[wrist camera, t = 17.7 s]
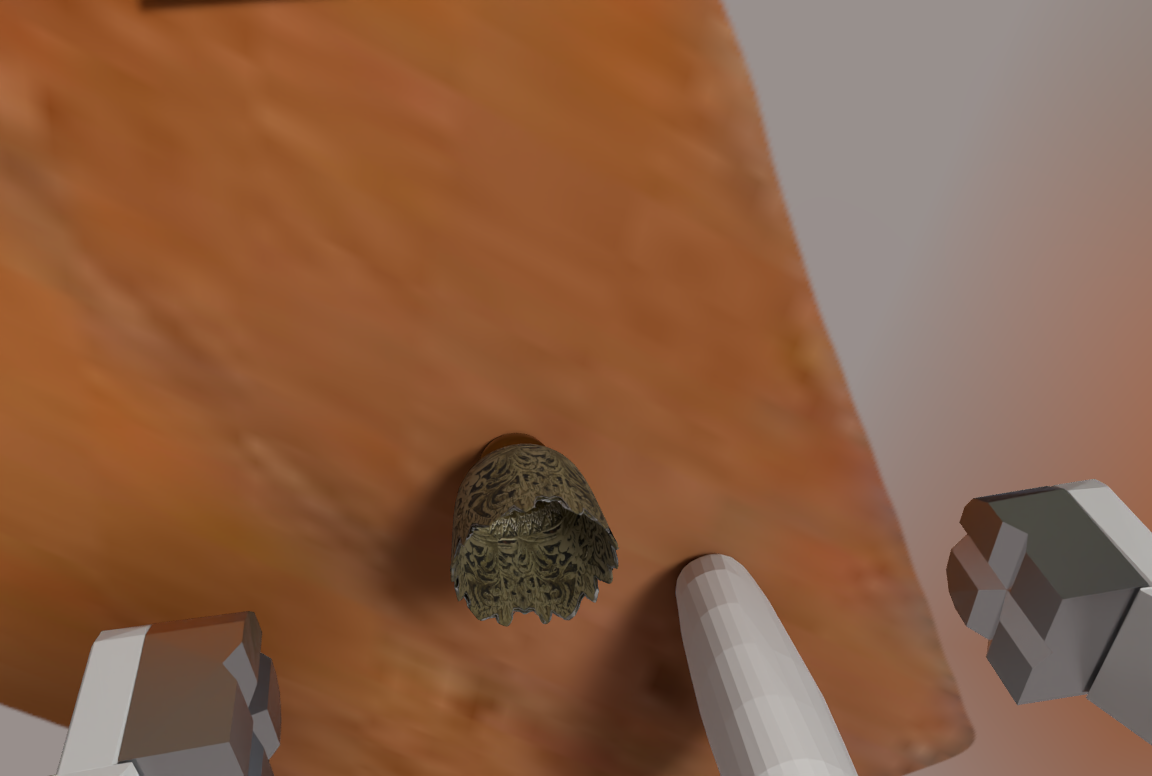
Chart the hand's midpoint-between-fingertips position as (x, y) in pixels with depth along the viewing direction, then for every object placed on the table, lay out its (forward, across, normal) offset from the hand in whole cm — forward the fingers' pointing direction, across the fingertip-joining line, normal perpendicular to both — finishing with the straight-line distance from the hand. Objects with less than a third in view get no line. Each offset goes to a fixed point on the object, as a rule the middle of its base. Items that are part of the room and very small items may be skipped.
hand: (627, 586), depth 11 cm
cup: (+29, +1, -23) cm, 37 cm away
